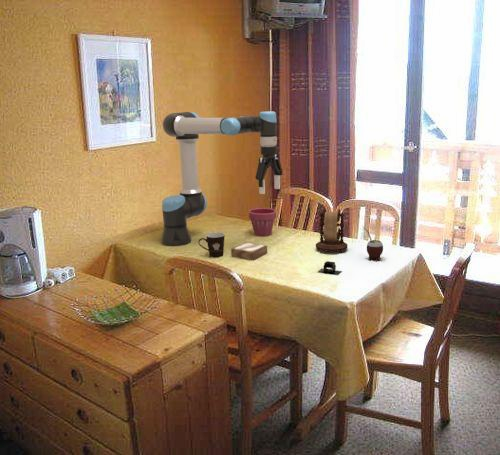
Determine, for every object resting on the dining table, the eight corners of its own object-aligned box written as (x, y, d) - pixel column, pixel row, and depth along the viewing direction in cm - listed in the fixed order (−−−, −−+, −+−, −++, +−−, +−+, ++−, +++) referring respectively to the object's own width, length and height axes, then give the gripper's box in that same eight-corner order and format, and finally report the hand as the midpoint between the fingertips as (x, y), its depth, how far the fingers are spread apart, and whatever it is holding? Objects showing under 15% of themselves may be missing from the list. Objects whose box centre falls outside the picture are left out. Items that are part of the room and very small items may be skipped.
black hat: (312, 273, 211) (312, 263, 209) (319, 268, 217) (319, 258, 215) (340, 278, 204) (341, 267, 203) (347, 272, 211) (347, 262, 209)
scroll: (312, 253, 235) (312, 211, 230) (319, 244, 248) (319, 204, 243) (344, 255, 230) (345, 212, 225) (349, 246, 243) (350, 205, 238)
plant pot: (280, 232, 272) (280, 209, 269) (268, 238, 261) (267, 214, 258) (257, 229, 280) (257, 206, 276) (244, 235, 268) (243, 212, 265)
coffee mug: (228, 253, 239) (227, 233, 237) (221, 259, 231) (220, 238, 229) (205, 251, 243) (204, 231, 240) (198, 257, 235) (197, 236, 233)
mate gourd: (386, 259, 223) (387, 226, 219) (372, 263, 219) (373, 229, 215) (374, 255, 229) (375, 223, 225) (360, 258, 225) (361, 226, 222)
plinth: (231, 256, 234) (231, 248, 233) (246, 249, 244) (245, 241, 243) (253, 260, 227) (253, 252, 226) (267, 253, 237) (267, 245, 236)
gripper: (261, 148, 221) (262, 196, 226) (289, 143, 241) (289, 187, 246) (246, 148, 225) (248, 195, 230) (275, 142, 245) (276, 186, 250)
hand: (269, 191), depth 238 cm, fingers open, 13 cm apart
